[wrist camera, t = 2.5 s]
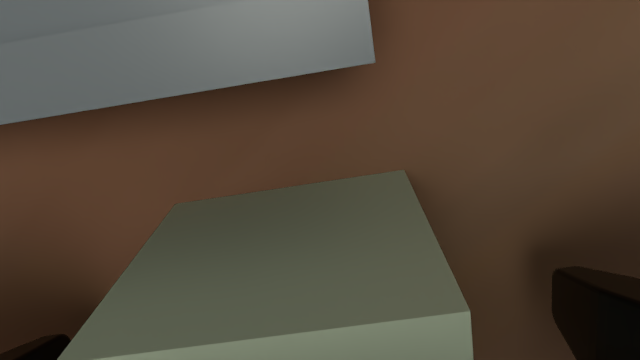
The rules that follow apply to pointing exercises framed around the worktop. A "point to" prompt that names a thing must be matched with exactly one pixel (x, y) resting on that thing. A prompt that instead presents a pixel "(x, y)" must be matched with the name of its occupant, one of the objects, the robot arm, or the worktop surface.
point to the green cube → (287, 281)
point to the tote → (165, 48)
